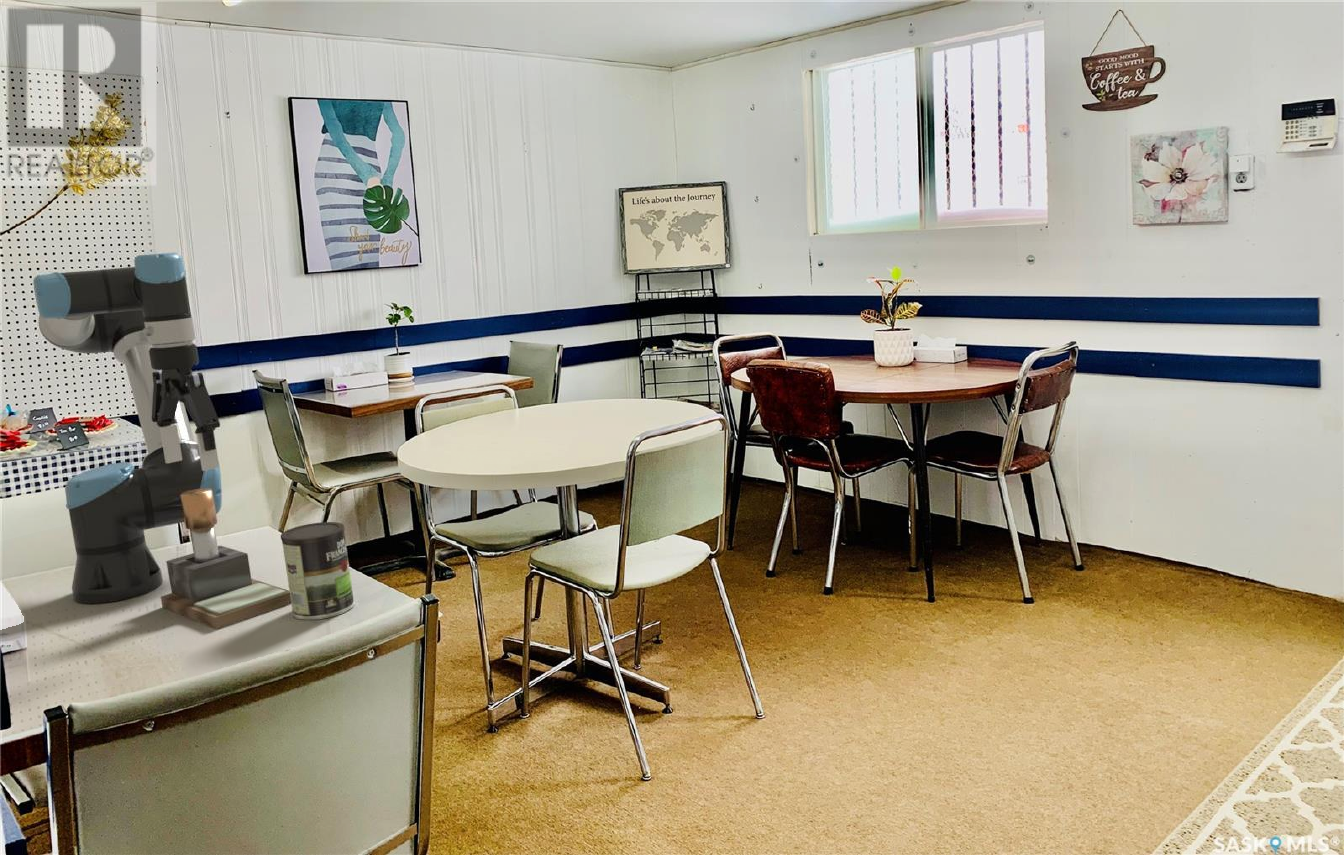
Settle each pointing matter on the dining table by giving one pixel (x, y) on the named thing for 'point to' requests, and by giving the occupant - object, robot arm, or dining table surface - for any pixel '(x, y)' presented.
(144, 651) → the dining table surface
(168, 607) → the board
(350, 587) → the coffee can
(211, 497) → the peg
